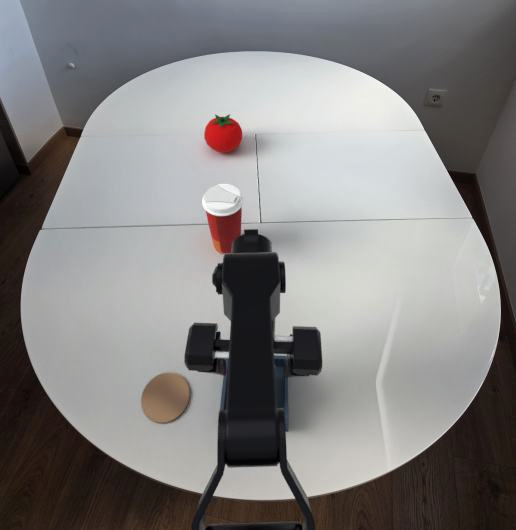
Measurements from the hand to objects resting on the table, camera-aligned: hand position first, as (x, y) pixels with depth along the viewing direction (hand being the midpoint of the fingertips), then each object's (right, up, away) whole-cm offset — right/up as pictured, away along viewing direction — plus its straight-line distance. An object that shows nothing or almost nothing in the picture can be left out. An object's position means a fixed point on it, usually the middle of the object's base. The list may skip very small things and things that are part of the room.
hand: (254, 373), depth 66 cm
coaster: (-15, -7, +6) cm, 17 cm away
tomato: (-9, +39, +55) cm, 68 cm away
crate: (0, -6, +6) cm, 9 cm away
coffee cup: (-7, +16, +30) cm, 34 cm away
